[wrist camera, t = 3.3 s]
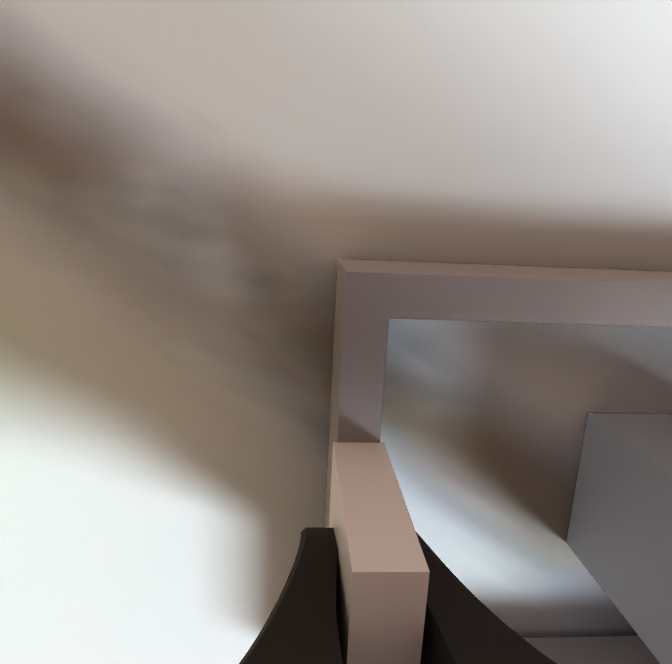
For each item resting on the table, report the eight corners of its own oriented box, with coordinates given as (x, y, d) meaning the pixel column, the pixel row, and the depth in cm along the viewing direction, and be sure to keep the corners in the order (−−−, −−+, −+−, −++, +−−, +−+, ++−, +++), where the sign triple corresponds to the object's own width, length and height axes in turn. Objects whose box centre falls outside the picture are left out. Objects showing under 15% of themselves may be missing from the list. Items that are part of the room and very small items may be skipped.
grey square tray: (797, 276, 15) (1203, 342, 8) (699, 659, 18) (937, 932, 11) (333, 258, 14) (367, 316, 7) (314, 667, 17) (327, 973, 10)
